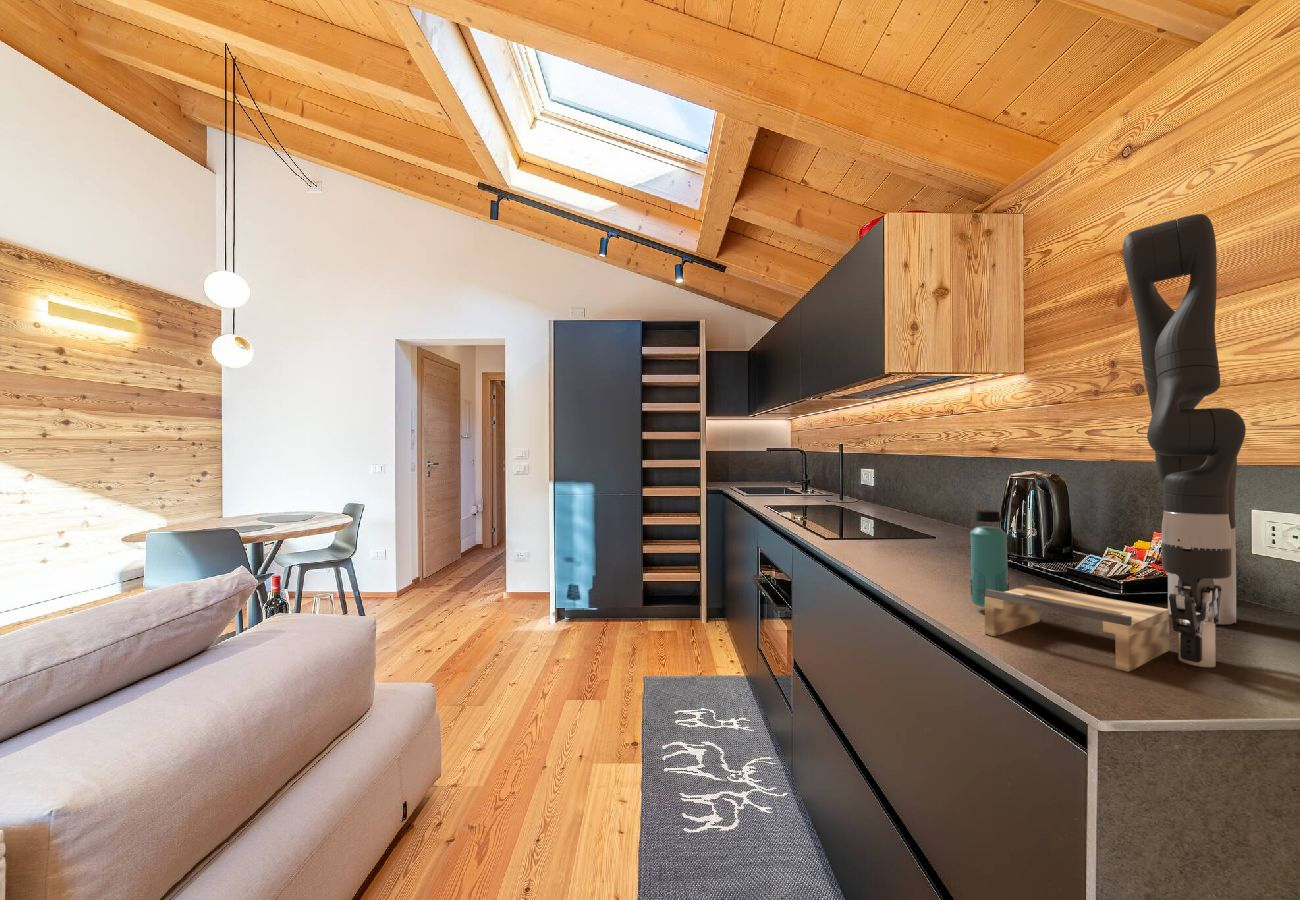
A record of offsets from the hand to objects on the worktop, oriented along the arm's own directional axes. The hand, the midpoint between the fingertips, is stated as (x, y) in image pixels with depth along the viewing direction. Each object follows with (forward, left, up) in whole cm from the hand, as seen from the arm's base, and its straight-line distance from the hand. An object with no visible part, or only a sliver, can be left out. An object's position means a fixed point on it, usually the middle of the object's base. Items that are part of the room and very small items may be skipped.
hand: (1196, 656), depth 85 cm
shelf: (+5, -14, -1) cm, 15 cm away
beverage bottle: (-2, -31, -1) cm, 31 cm away
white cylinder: (0, 0, -1) cm, 1 cm away
